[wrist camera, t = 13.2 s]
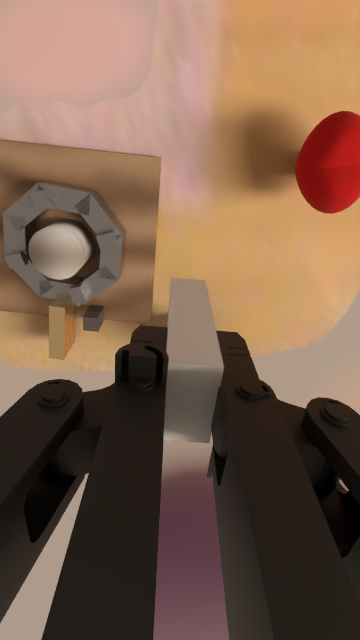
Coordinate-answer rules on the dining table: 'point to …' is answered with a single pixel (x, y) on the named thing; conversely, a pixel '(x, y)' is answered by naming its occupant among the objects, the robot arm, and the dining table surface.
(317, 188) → the light bulb
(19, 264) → the ring nut
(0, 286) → the mount plate
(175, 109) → the dining table surface
